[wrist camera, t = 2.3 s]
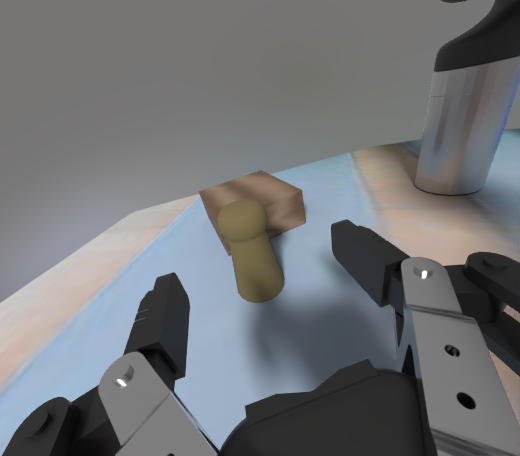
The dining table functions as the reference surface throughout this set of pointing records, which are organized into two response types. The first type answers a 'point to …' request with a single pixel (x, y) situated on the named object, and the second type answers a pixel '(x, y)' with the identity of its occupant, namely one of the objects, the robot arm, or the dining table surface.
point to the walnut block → (264, 191)
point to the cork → (251, 250)
